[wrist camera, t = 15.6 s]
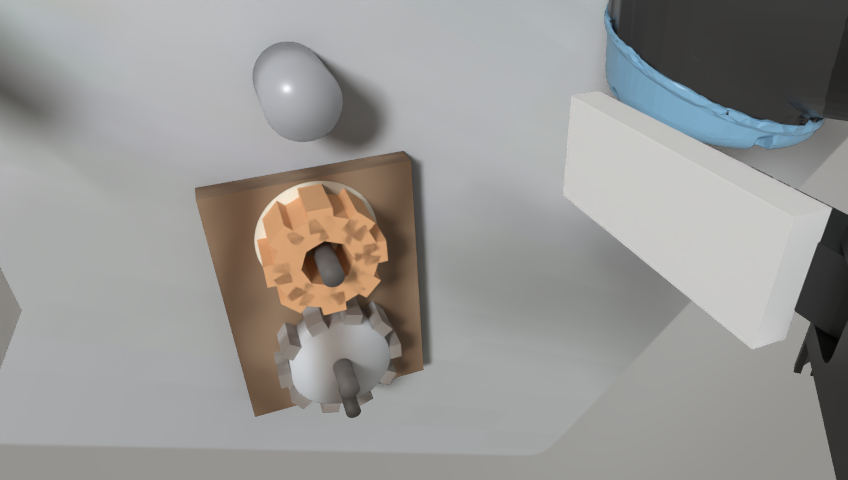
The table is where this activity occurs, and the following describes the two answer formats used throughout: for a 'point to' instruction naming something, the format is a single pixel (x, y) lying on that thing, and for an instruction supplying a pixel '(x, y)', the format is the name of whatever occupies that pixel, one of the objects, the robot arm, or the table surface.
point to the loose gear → (307, 228)
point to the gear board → (265, 302)
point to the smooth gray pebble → (296, 92)
